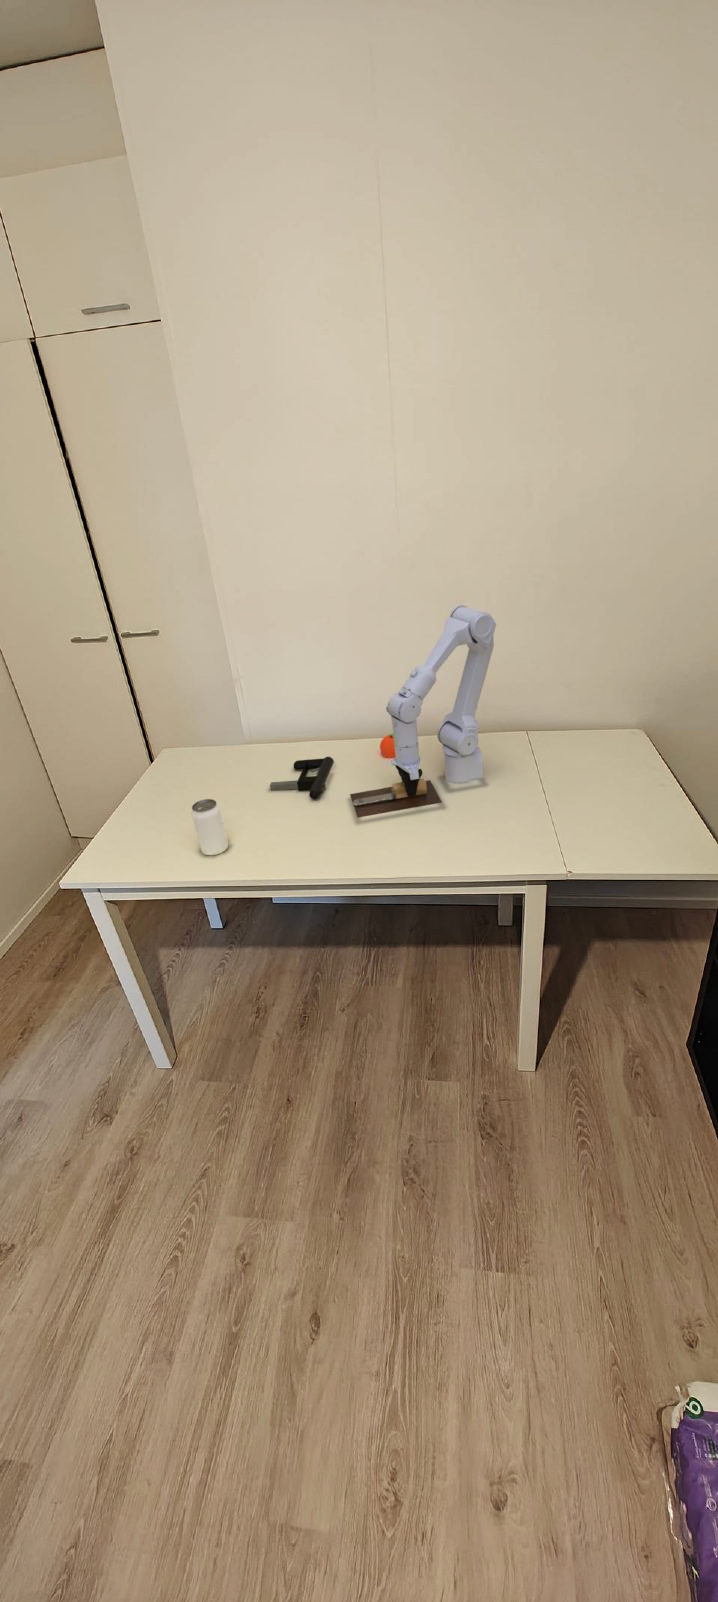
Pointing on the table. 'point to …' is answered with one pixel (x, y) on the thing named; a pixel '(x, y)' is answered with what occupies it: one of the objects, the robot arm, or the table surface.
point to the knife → (393, 793)
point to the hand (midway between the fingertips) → (410, 791)
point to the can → (209, 827)
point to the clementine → (388, 746)
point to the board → (394, 801)
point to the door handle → (311, 782)
